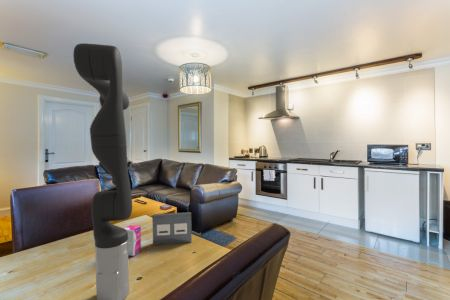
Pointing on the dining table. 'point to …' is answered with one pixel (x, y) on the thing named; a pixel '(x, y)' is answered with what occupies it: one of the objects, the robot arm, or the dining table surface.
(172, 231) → the label panel
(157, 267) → the dining table surface
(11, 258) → the dining table surface
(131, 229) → the supplement box
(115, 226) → the robot arm
